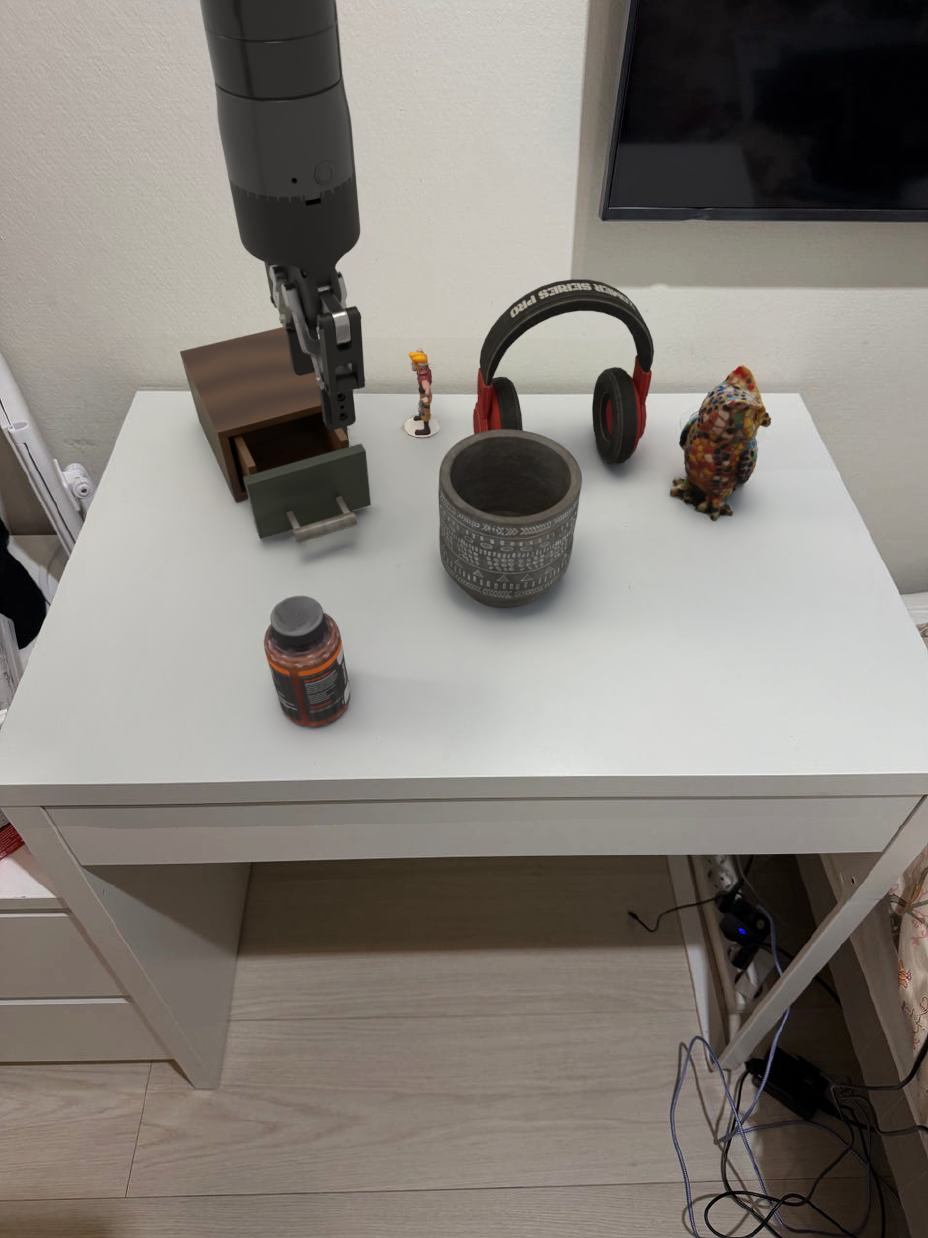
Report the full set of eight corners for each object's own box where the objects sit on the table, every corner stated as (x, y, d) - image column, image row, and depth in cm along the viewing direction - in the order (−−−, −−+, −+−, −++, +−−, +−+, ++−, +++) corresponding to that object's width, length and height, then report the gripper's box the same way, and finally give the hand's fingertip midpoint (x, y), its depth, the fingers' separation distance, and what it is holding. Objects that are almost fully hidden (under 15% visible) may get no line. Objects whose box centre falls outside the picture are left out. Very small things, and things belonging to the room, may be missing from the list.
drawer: (385, 530, 84) (381, 475, 78) (272, 566, 80) (259, 511, 75) (325, 428, 93) (318, 373, 88) (222, 457, 90) (208, 401, 85)
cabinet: (352, 468, 91) (344, 398, 84) (235, 502, 87) (217, 432, 80) (307, 392, 99) (296, 323, 92) (199, 421, 95) (179, 351, 89)
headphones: (482, 496, 88) (490, 323, 73) (467, 436, 94) (471, 265, 79) (645, 480, 90) (685, 308, 75) (619, 422, 96) (652, 252, 81)
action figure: (442, 466, 91) (441, 393, 84) (415, 467, 91) (412, 394, 84) (434, 398, 99) (432, 326, 91) (409, 400, 98) (406, 327, 91)
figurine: (769, 511, 87) (818, 389, 76) (693, 532, 85) (731, 409, 74) (725, 460, 92) (765, 338, 81) (652, 478, 90) (682, 355, 79)
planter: (550, 638, 76) (565, 537, 66) (422, 606, 79) (418, 505, 69) (578, 545, 84) (595, 443, 74) (461, 519, 86) (462, 416, 76)
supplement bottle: (365, 691, 72) (353, 606, 64) (321, 741, 69) (303, 659, 60) (310, 660, 74) (292, 574, 66) (265, 708, 71) (239, 624, 62)
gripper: (197, 127, 53) (247, 358, 66) (265, 228, 45) (306, 469, 58) (311, 108, 55) (338, 336, 68) (396, 201, 47) (408, 440, 60)
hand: (323, 396), depth 63 cm, fingers open, 6 cm apart
